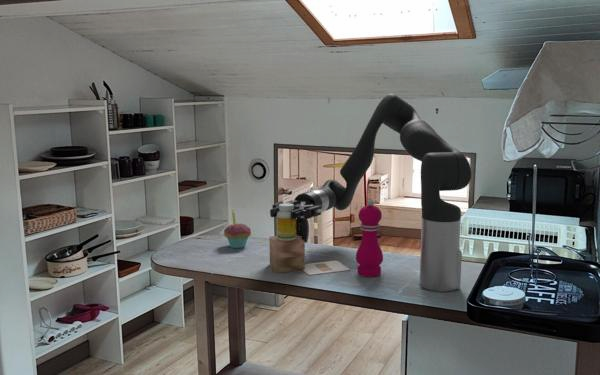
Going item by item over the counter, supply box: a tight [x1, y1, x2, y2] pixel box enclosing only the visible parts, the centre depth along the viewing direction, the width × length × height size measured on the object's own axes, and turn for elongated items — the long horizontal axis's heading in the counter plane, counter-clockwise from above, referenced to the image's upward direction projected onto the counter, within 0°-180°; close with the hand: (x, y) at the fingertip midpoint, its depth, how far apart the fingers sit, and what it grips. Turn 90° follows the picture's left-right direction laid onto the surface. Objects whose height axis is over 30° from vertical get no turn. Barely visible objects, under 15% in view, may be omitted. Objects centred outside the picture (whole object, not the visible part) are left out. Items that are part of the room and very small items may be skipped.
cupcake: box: [223, 209, 252, 249], centre depth 175 cm, size 9×8×12 cm
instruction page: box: [302, 260, 351, 276], centre depth 153 cm, size 12×9×1 cm
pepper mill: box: [355, 199, 384, 278], centre depth 147 cm, size 7×7×20 cm
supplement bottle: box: [276, 202, 297, 241], centre depth 152 cm, size 5×5×10 cm
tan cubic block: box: [269, 234, 306, 274], centre depth 154 cm, size 8×8×8 cm
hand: (281, 214), depth 150 cm, fingers open, 5 cm apart
